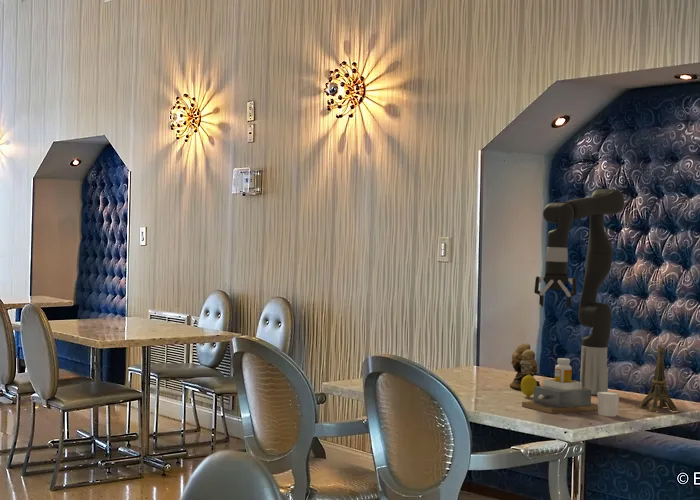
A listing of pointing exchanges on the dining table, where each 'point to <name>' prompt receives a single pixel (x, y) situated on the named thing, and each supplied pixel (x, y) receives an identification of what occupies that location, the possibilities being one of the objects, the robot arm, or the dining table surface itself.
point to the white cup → (607, 403)
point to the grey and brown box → (561, 397)
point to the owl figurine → (523, 365)
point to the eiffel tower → (658, 388)
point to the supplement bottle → (563, 371)
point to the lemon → (528, 385)
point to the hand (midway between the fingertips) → (554, 307)
